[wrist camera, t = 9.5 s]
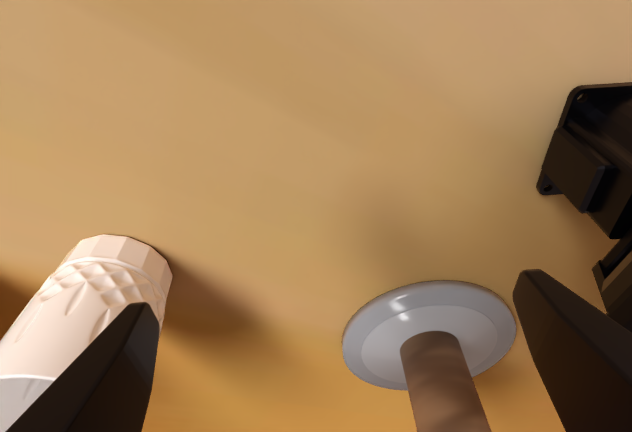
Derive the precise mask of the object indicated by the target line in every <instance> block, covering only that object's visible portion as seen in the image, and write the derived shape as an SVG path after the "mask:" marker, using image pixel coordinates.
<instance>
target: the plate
mask: <svg viewBox="0 0 632 432" xmlns="http://www.w3.org/2000/svg"><path fill="white" fill-rule="evenodd" d="M427 331H444V332H448V333H451V334H453V335H454V336H455V337H456V338H457V339H458V341H459V344H460V346H461V349H462V352H463V355H464V357H465V360H466V363H467V366H468V368H469V371H470V374H471V377H474V376H476V375H478V374H480V373H482V372H484V371H486V370H487V369H489V368H490V367H492V366H493V365H494V364H496V363H497V362H498V361H499V360H500V359H501V358H502V357H503V356H504V355H505V354H506V353H507V352H508V350H509V349H510V348H511V346H512V344H513V342H514V339H515V336H516V323H515V321H514V318H513V316H512V314H511V312H510V310H509V308H508V306H507V305H506V303H505V302H504V300H503V299H502V298H501V297H499V296H498V295H497V294H496V293H494V292H492V291H491V290H489V289H487V288H484V287H482V286H479V285H476V284H472V283H467V282H462V281H450V280H443V281H428V282H421V283H415V284H410V285H407V286H403V287H400V288H397V289H394V290H391V291H389V292H387V293H384V294H382V295H380V296H378V297H376V298H375V299H373V300H371V301H370V302H368V303H367V304H365V305H364V306H363V307H362V308H360V309H359V310H358V311H357V312H356V313H355V314H354V315H353V316H352V318H351V319H350V320H349V321H348V323H347V325H346V327H345V329H344V332H343V335H342V349H343V357H344V361H345V363H346V365H347V367H348V368H349V370H350V371H351V372H352V373H353V374H354V375H356V376H357V377H358V378H360V379H362V380H363V381H365V382H367V383H370V384H372V385H375V386H379V387H383V388H388V389H394V390H408V387H407V383H406V378H405V374H404V369H403V365H402V361H401V356H400V348H401V346H402V344H403V343H404V342H405V341H406V340H407V339H409V338H410V337H412V336H414V335H417V334H419V333H423V332H427Z"/></svg>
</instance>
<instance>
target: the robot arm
mask: <svg viewBox="0 0 632 432" xmlns="http://www.w3.org/2000/svg"><path fill="white" fill-rule="evenodd" d="M583 93H584V94H583ZM581 94H583V96H582V97H581V98H580V99H578V100H577V98H578V97H579V96H580V95H581ZM547 185H548V186H547ZM545 186H547V187H545ZM544 187H545V188H544ZM536 188H537V190H538V191H539V192H540V194H542V195H556V194H564V195H565V196H566V197H567V198H568V199H569V200H570V202H571V203H572V204H573V205H574V206H575V207H576V208H577V210H578V211H579V212H580V213H587V214H588V215H589V216H590V217H591V218H592V219H593V220H594V222H595V223H596V224H597V225H598V226H599V227H600V228H601V229H602V230H603V232H604V233H605V234H606V235H607V236H608V237H609V238H610V239H620V240H619V241H618V242H617V244H616V245H615V246H614V247H613V248H612V249H611V251H610V252H609V253H608V254H607V255H606V256H605V257H604V259H603V260H599V261H598V262H597V263H596V264H595V266H594V267H593V268H592V271H593V274H594V277H595V280H596V282H597V285H598V288H599V291H600V294H601V297H602V300H603V302H604V305H605V308H606V311H607V313H606V314H604V313H603V312H601V311H600V310H598V309H597V308H595V307H594V306H593V305H591V304H590V303H588V302H587V301H585V300H584V299H583V298H581V297H580V296H578V295H577V294H575V293H574V292H572V291H571V290H570V289H568V288H567V287H565V286H564V285H562V284H561V283H560V282H558V281H557V280H555V279H554V278H552V277H551V276H550V275H548V274H547V273H545V272H544V271H542V270H540V269H531V270H523V271H522V272H520V274H519V277H518V279H517V282H516V285H515V288H514V290H513V302H514V305H515V308H516V311H517V314H518V317H519V320H520V323H521V326H522V329H523V332H524V335H525V338H526V341H527V344H528V347H529V350H530V353H531V355H532V358H533V361H534V363H535V365H536V368H537V370H538V372H539V374H540V376H541V379H542V381H543V383H544V385H545V387H546V389H547V392H548V394H549V396H550V398H551V400H552V402H553V405H554V407H555V409H556V411H557V413H558V415H559V418H560V420H561V422H562V424H563V426H564V428H565V431H566V432H632V82H629V83H613V84H596V85H581V86H578V87H576V88H574V89H573V90H572V91H571V92H570V94H569V96H568V98H567V101H566V104H565V107H564V109H563V112H562V115H561V118H560V121H559V123H558V126H557V128H556V130H555V131H554V134H553V137H552V140H551V142H550V145H549V148H548V151H547V154H546V156H545V159H544V162H543V165H542V171H541V174H540V176H539V179H538V182H537V185H536ZM159 332H160V325H159V322H158V319H157V317H156V316H155V314H154V312H153V310H152V308H151V306H150V305H149V303H147V302H135V303H130V304H129V305H127V306H126V307H125V308H124V309H123V310H122V311H121V312H120V313H119V314H118V315H117V316H116V318H115V319H114V320H113V321H112V322H111V323H110V324H109V325H108V326H107V327H106V328H105V329H104V330H103V331H102V332H101V333H100V334H99V335H98V336H97V337H96V338H95V339H94V340H93V341H92V342H91V343H90V344H89V345H88V347H87V348H86V349H85V350H84V351H83V352H82V353H81V354H80V355H79V356H78V357H77V358H76V359H75V360H74V361H73V362H72V363H71V364H70V365H69V366H68V367H67V368H66V369H65V370H64V371H63V372H62V373H61V374H60V376H59V377H58V378H57V379H56V380H55V381H54V382H53V383H52V384H51V385H50V386H49V387H48V388H47V389H46V390H45V391H44V392H43V393H42V394H41V395H40V396H39V397H38V398H37V399H36V400H35V401H34V402H33V403H32V404H31V406H30V407H29V408H28V409H27V410H26V411H25V412H24V413H23V414H22V415H21V416H20V417H19V418H18V419H17V420H16V421H15V422H14V423H13V424H12V425H11V426H10V427H9V428H8V429H7V430H6V431H5V432H141V431H142V427H143V423H144V419H145V415H146V411H147V407H148V403H149V399H150V395H151V390H152V384H153V377H154V369H155V362H156V355H157V347H158V340H159Z"/></svg>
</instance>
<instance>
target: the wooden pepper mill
mask: <svg viewBox="0 0 632 432" xmlns="http://www.w3.org/2000/svg"><path fill="white" fill-rule="evenodd" d="M400 356H401V361H402V365H403V369H404V374H405V378H406V383H407V387H408V392H409V396H410V401H411V405H412V409H413V414H414V418H415V423H416V427H417V432H491V429H490V426H489V424H488V421H487V418H486V415H485V413H484V410H483V407H482V404H481V402H480V399H479V396H478V393H477V391H476V388H475V385H474V382H473V379H472V377H471V374H470V371H469V368H468V366H467V363H466V360H465V357H464V355H463V352H462V349H461V346H460V344H459V341H458V339H457V338H456V337H455V336H454V335H453V334H451V333H448V332H444V331H427V332H423V333H419V334H417V335H414V336H412V337H410V338H409V339H407V340H406V341H405V342H404V343H403V344H402V346H401V348H400Z"/></svg>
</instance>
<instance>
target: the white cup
mask: <svg viewBox="0 0 632 432" xmlns="http://www.w3.org/2000/svg"><path fill="white" fill-rule="evenodd" d="M172 277H173V275H172V273H171V270H170V268H169V266H168V263H167V261H166V259H164V258H163V257H162V256H161V255H160V254H159V253H158V252H156V251H155V250H154V249H153V248H152V247H151V246H149V245H146V244H144V243H142V242H139V241H137V240H135V239H132V238H130V237H126V236H116V235H106V234H102V235H98V236H94V237H90V238H86V239H82V240H81V241H80V242H79V243H78V244H77V245H76V246H75V247H74V248H73V249H72V250H71V251H70V252H69V253H68V254H67V256H66V257H65V258H64V260H63V261H62V263H61V264H60V265H59V267H58V268H57V270H56V271H55V272H54V273H52V274H51V275H50V276H49V277H48V279H47V280H46V281H45V282H44V284H43V285H42V287H41V288H40V289H39V291H37V293H36V294H35V295H34V296H33V298H32V299H31V300H30V301H29V303H28V304H27V305H26V307H25V308H24V309H23V311H22V312H21V313H20V315H19V316H18V317H17V319H16V320H15V321H14V323H13V324H12V326H11V327H10V328H9V330H8V331H7V332H6V334H5V335H4V336H3V338H2V339H1V341H0V432H5V431H6V430H7V429H8V428H9V427H10V426H11V425H12V424H13V423H14V422H15V421H16V420H17V419H18V418H19V417H20V416H21V415H22V414H23V413H24V412H25V411H26V410H27V409H28V408H29V407H30V406H31V404H32V403H33V402H34V401H35V400H36V399H37V398H38V397H39V396H40V395H41V394H42V393H43V392H44V391H45V390H46V389H47V388H48V387H49V386H50V385H51V384H52V383H53V382H54V381H55V380H56V379H57V378H58V377H59V376H60V374H61V373H62V372H63V371H64V370H65V369H66V368H67V367H68V366H69V365H70V364H71V363H72V362H73V361H74V360H75V359H76V358H77V357H78V356H79V355H80V354H81V353H82V352H83V351H84V350H85V349H86V348H87V347H88V345H89V344H90V343H91V342H92V341H93V340H94V339H95V338H96V337H97V336H98V335H99V334H100V333H101V332H102V331H103V330H104V329H105V328H106V327H107V326H108V325H109V324H110V323H111V322H112V321H113V320H114V319H115V318H116V316H117V315H118V314H119V313H120V312H121V311H122V310H123V309H124V308H125V307H126V306H127V305H129V304H130V303H135V302H147V303H149V305H150V306H151V308H152V310H153V312H154V314H155V316H156V317H157V319H158V322H159V325H160V332H159V338H160V335H161V329H162V323H163V320H164V316H165V305H166V299H167V296H168V292H169V288H170V285H171V281H172ZM158 341H159V340H158Z"/></svg>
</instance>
